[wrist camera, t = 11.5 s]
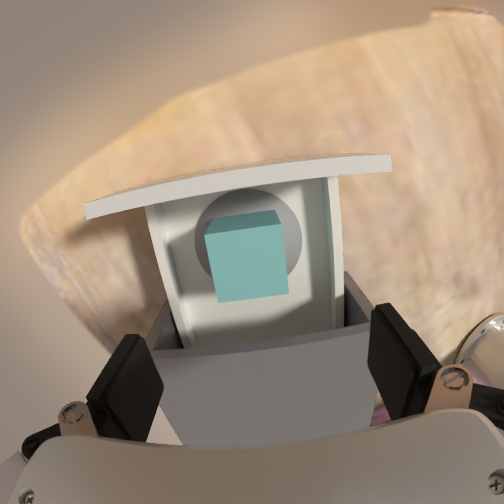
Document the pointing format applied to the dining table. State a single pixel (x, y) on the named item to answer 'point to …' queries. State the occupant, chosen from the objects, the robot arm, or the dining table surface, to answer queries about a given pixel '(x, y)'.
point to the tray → (240, 202)
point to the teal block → (247, 256)
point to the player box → (268, 382)
